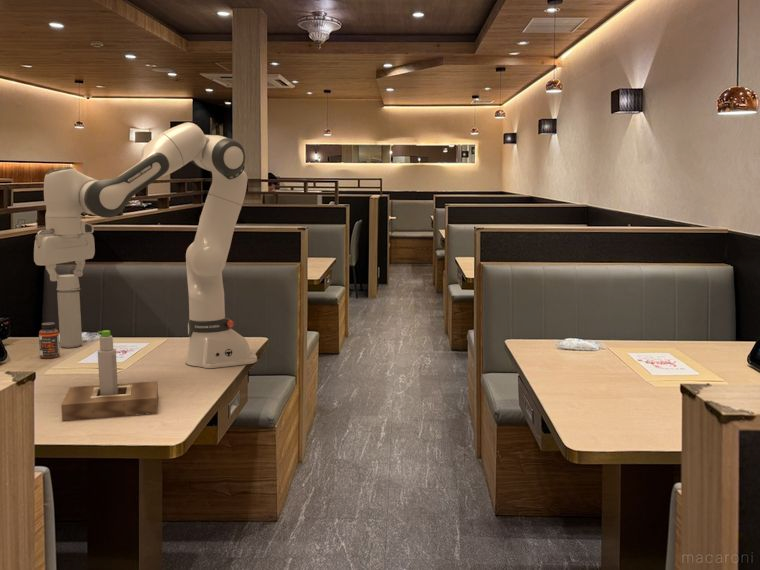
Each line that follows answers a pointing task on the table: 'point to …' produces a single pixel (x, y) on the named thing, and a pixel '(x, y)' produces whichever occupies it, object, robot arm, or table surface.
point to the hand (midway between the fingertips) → (66, 278)
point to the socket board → (110, 401)
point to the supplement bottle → (49, 341)
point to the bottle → (107, 365)
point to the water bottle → (69, 311)
